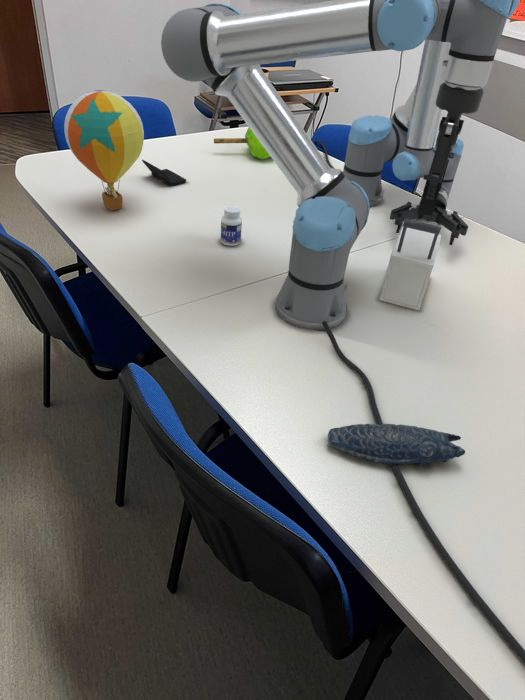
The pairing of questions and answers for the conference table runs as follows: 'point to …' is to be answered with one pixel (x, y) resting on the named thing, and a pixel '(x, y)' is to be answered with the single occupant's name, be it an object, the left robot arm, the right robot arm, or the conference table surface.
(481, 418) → the conference table surface
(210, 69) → the left robot arm
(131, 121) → the toy
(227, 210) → the pill bottle
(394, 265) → the chest
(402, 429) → the fish model
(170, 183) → the black block with spike
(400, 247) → the lid
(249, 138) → the decorative tree
